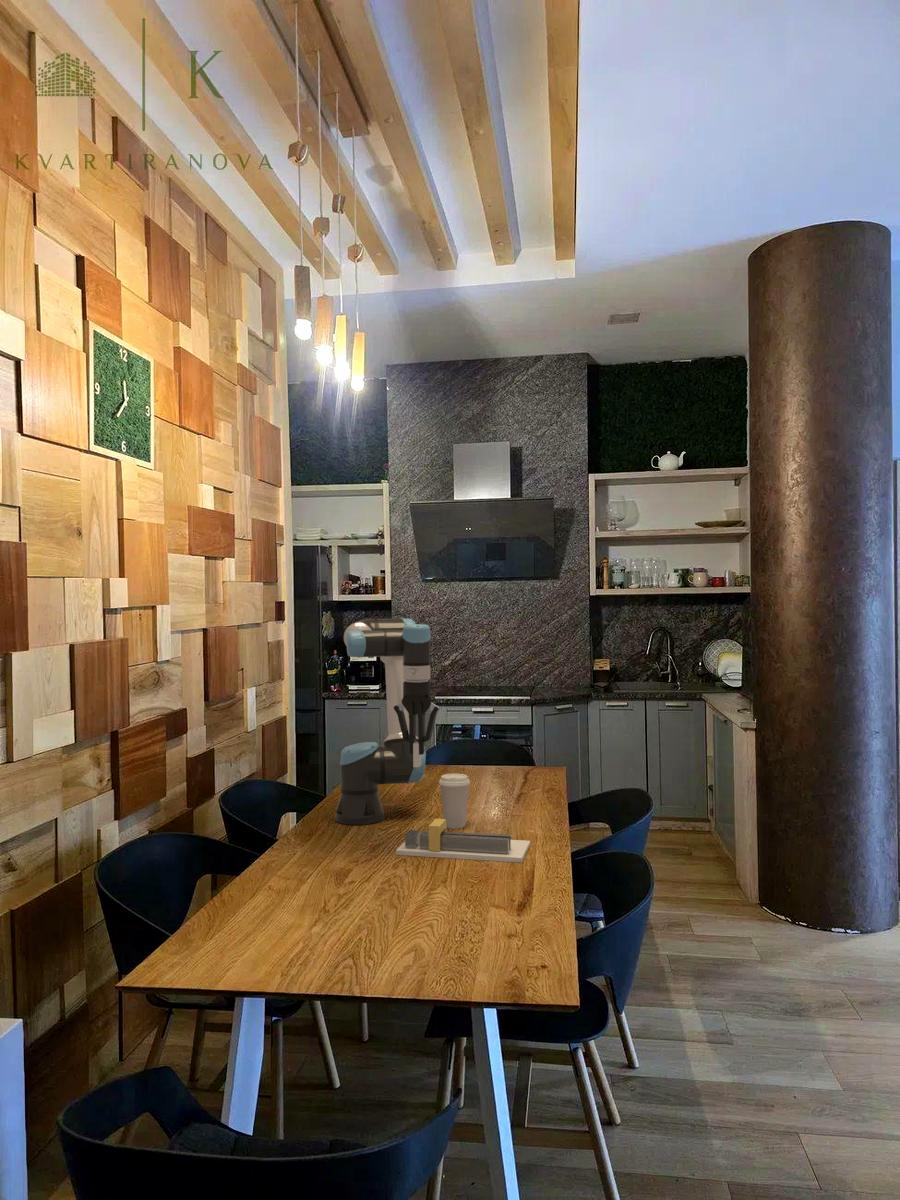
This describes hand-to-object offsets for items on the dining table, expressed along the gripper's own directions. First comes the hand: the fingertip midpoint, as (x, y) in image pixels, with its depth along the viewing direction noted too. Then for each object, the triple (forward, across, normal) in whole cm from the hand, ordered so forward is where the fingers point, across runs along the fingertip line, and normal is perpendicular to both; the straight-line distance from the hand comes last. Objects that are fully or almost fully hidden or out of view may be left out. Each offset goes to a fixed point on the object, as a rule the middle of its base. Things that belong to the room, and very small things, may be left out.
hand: (417, 766), depth 231 cm
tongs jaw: (+21, +14, -1) cm, 25 cm away
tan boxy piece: (+21, +6, -3) cm, 22 cm away
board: (+22, +13, 0) cm, 26 cm away
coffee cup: (+23, +5, +24) cm, 34 cm away
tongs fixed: (+21, +12, -3) cm, 24 cm away
